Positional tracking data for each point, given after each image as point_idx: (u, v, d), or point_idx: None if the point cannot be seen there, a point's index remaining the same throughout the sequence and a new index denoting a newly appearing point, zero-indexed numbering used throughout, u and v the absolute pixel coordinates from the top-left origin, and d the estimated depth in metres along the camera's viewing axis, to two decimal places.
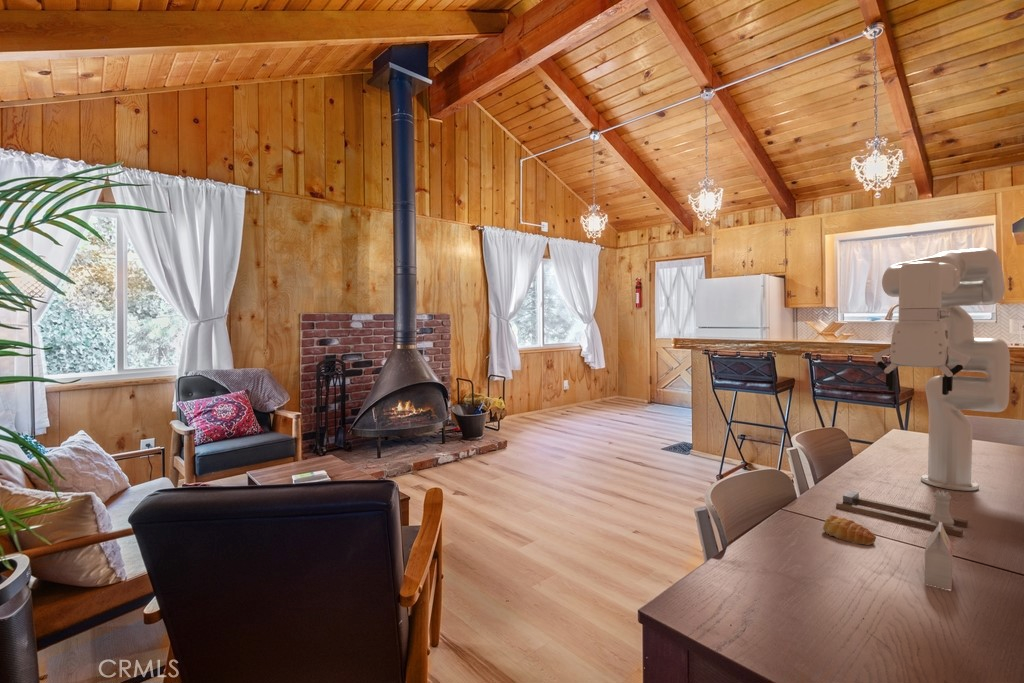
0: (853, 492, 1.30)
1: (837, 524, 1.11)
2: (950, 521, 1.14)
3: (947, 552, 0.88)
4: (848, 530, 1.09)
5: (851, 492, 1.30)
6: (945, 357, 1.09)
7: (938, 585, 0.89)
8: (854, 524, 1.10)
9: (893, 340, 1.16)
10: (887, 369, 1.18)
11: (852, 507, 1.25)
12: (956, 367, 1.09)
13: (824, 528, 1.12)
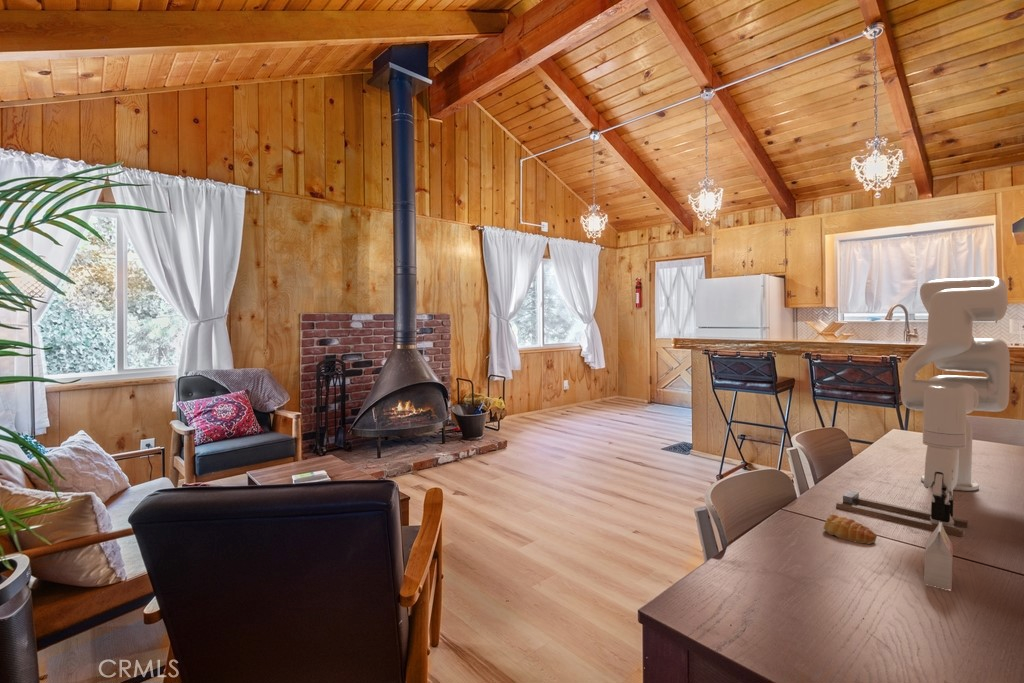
0: (853, 492, 1.30)
1: (838, 523, 1.11)
2: (951, 521, 1.14)
3: (947, 552, 0.88)
4: (849, 529, 1.09)
5: (851, 492, 1.30)
6: None
7: (938, 585, 0.89)
8: (855, 523, 1.10)
9: (951, 467, 1.11)
10: None
11: (852, 507, 1.25)
12: None
13: (825, 527, 1.13)
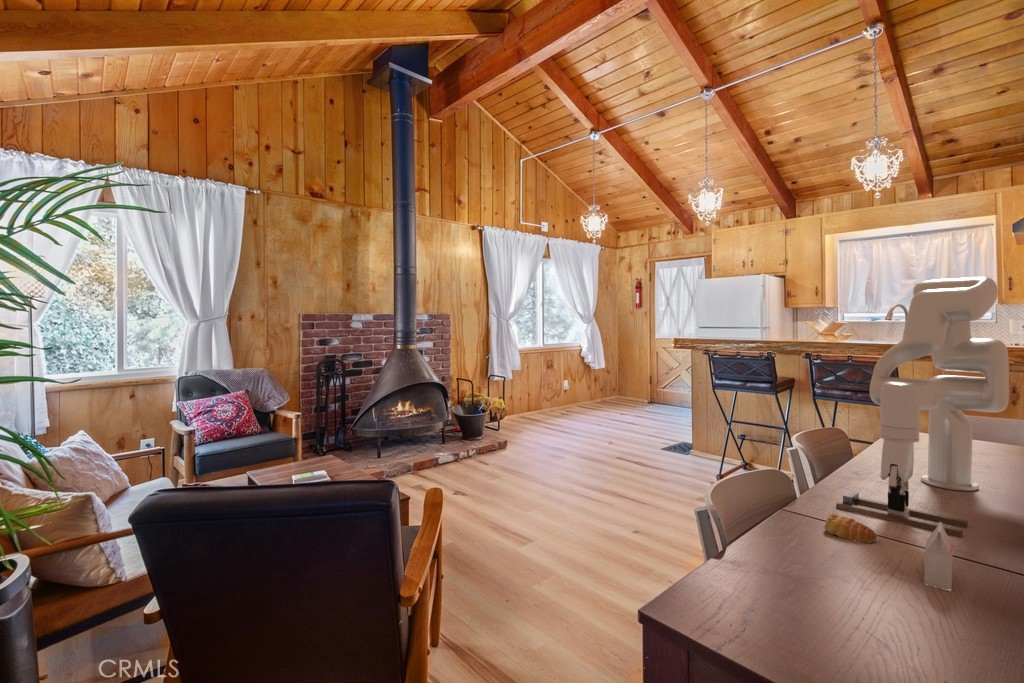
0: (853, 492, 1.30)
1: (839, 522, 1.11)
2: (906, 510, 1.20)
3: (947, 552, 0.88)
4: (849, 528, 1.10)
5: (851, 492, 1.30)
6: None
7: (938, 585, 0.89)
8: (855, 522, 1.11)
9: (905, 460, 1.17)
10: None
11: (852, 507, 1.25)
12: None
13: (826, 527, 1.13)
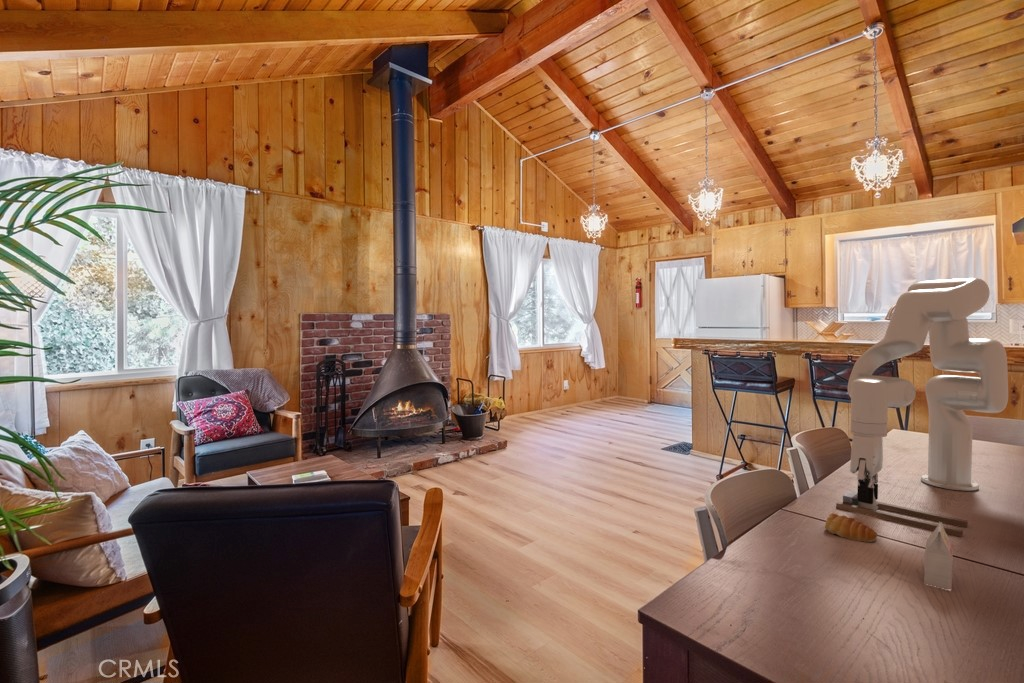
0: (853, 492, 1.30)
1: (839, 522, 1.12)
2: (874, 503, 1.25)
3: (947, 552, 0.88)
4: (850, 527, 1.10)
5: (851, 492, 1.30)
6: None
7: (938, 585, 0.89)
8: (855, 521, 1.11)
9: (873, 454, 1.22)
10: (870, 485, 1.24)
11: (852, 507, 1.25)
12: None
13: (826, 526, 1.13)
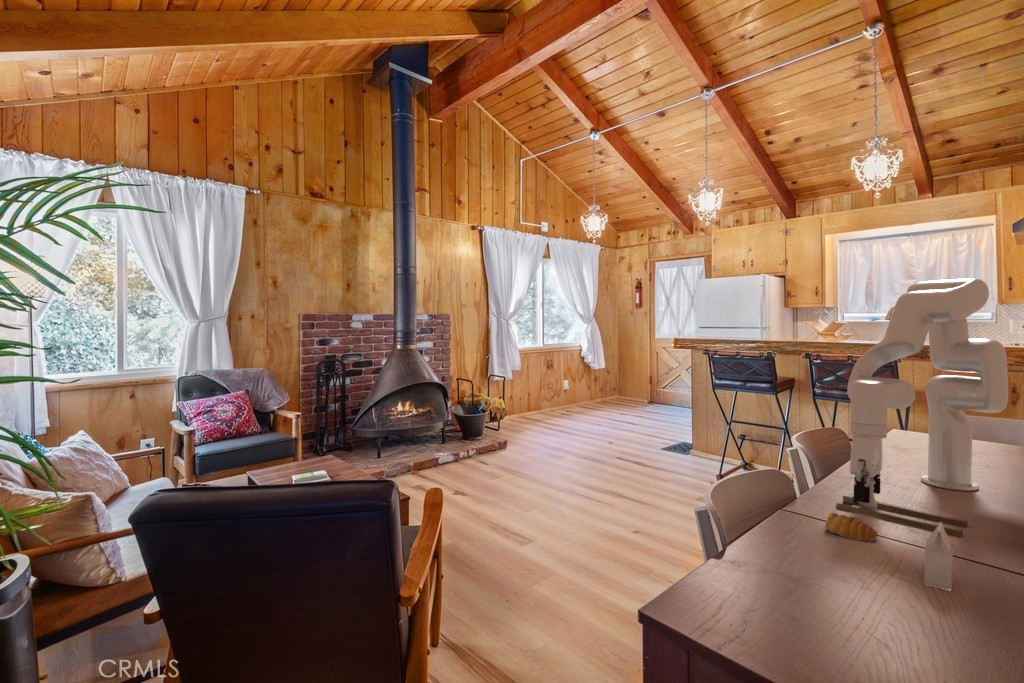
0: (853, 492, 1.30)
1: (840, 521, 1.12)
2: (874, 504, 1.25)
3: (947, 552, 0.88)
4: (850, 527, 1.10)
5: (851, 492, 1.30)
6: None
7: (938, 585, 0.89)
8: (855, 521, 1.12)
9: (873, 455, 1.22)
10: (867, 483, 1.22)
11: (852, 507, 1.25)
12: None
13: (826, 526, 1.13)
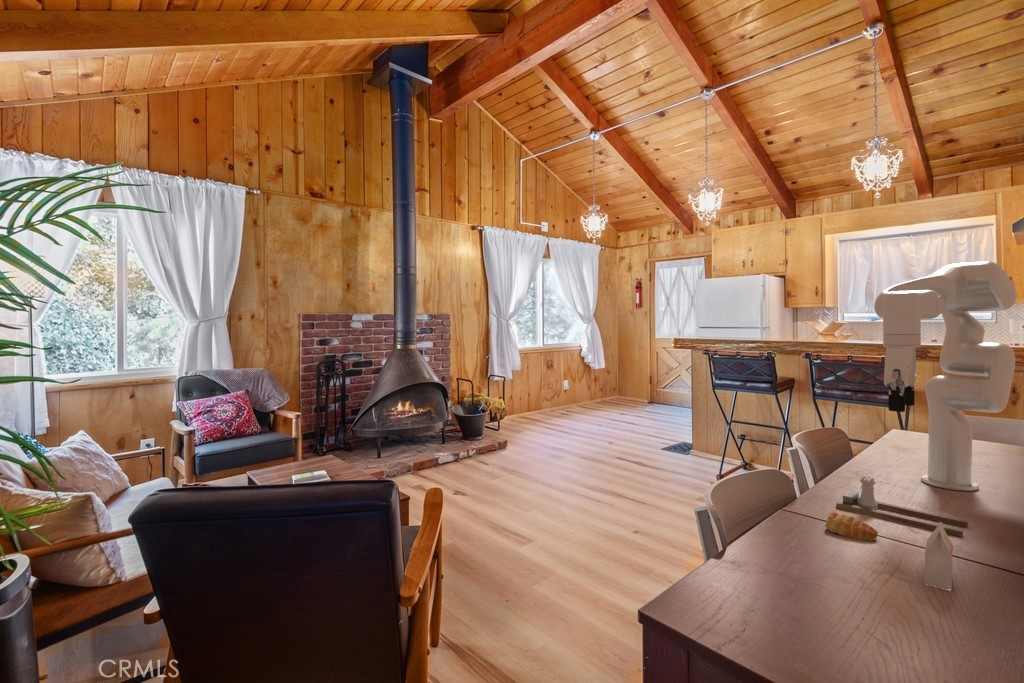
0: (853, 492, 1.30)
1: (840, 521, 1.12)
2: (874, 504, 1.25)
3: (947, 552, 0.88)
4: (851, 526, 1.11)
5: (851, 492, 1.30)
6: None
7: (938, 585, 0.89)
8: (856, 520, 1.12)
9: (907, 364, 1.23)
10: None
11: (852, 507, 1.25)
12: None
13: (827, 525, 1.14)
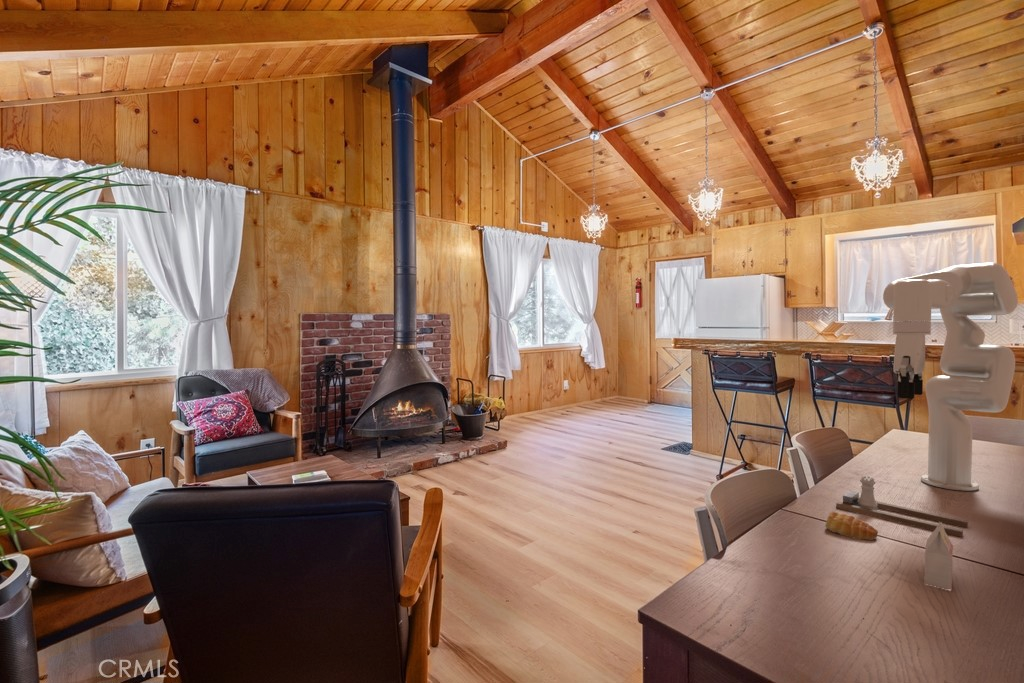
0: (853, 492, 1.30)
1: (840, 520, 1.13)
2: (874, 504, 1.25)
3: (947, 552, 0.88)
4: (851, 526, 1.11)
5: (851, 492, 1.30)
6: None
7: (938, 585, 0.89)
8: (856, 520, 1.12)
9: (917, 350, 1.23)
10: (912, 379, 1.23)
11: (852, 507, 1.25)
12: None
13: (827, 525, 1.14)
